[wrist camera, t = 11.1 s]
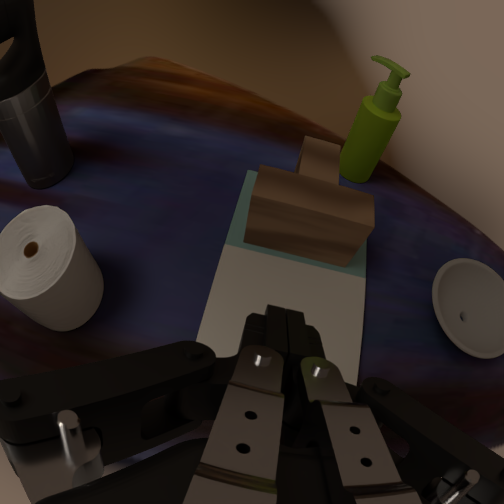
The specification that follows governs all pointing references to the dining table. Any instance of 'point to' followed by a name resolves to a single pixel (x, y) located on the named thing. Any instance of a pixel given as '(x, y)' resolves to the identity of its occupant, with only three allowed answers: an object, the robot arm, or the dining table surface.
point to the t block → (309, 208)
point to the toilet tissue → (49, 269)
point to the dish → (470, 306)
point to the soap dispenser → (373, 126)
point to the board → (284, 293)
